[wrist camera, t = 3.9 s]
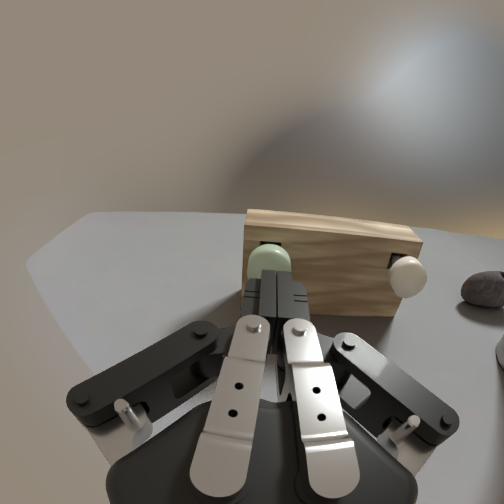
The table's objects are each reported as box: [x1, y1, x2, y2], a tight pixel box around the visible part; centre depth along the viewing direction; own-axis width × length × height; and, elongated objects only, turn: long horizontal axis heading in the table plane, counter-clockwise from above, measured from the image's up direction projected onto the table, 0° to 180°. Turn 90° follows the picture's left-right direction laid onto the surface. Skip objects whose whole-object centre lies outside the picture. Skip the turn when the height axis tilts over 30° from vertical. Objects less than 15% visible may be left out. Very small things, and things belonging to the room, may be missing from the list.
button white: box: [388, 253, 427, 298], centre depth 29 cm, size 6×4×4 cm
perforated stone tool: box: [461, 271, 504, 307], centre depth 35 cm, size 15×5×7 cm, turn 78°
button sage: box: [247, 241, 291, 279], centre depth 30 cm, size 6×4×4 cm
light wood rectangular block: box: [241, 209, 423, 317], centre depth 34 cm, size 5×22×12 cm, turn 86°
